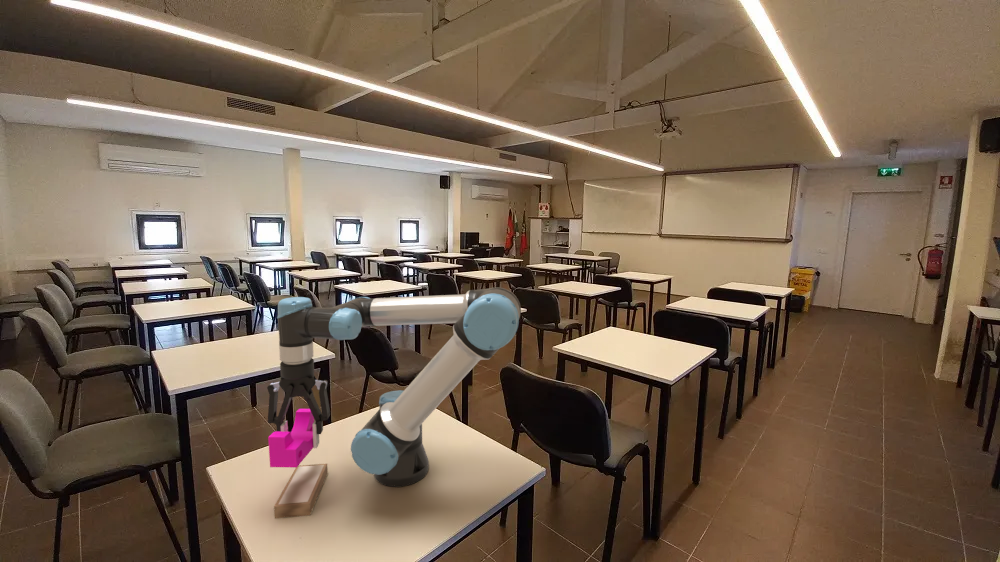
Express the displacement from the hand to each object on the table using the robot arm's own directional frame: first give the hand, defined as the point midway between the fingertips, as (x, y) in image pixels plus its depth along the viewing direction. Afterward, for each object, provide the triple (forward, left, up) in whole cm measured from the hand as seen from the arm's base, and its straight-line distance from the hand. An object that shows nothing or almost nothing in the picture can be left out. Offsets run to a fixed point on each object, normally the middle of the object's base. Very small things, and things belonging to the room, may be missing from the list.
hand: (300, 446), depth 105 cm
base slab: (0, 0, -13) cm, 13 cm away
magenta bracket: (0, +1, -1) cm, 1 cm away
